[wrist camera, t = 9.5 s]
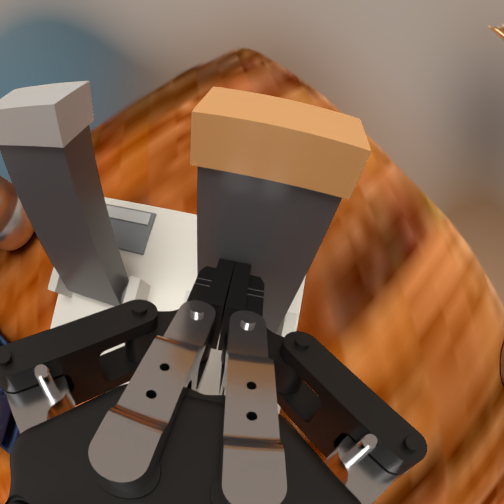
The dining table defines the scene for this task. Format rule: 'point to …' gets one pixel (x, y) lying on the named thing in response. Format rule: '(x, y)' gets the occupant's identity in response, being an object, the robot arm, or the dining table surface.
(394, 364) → the dining table surface
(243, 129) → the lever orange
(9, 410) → the flower pot
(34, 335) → the robot arm
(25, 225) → the plastic bottle
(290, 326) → the switch unit
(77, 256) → the lever grey
